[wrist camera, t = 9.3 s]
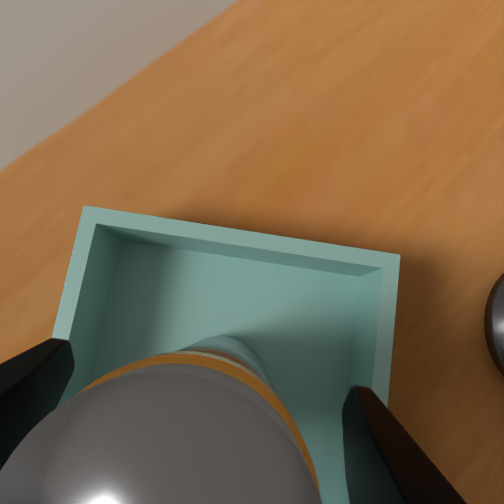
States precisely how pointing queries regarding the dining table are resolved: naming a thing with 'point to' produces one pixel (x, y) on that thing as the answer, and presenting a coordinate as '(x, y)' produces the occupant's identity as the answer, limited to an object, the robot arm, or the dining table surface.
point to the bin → (235, 313)
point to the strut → (168, 437)
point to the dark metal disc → (496, 323)
